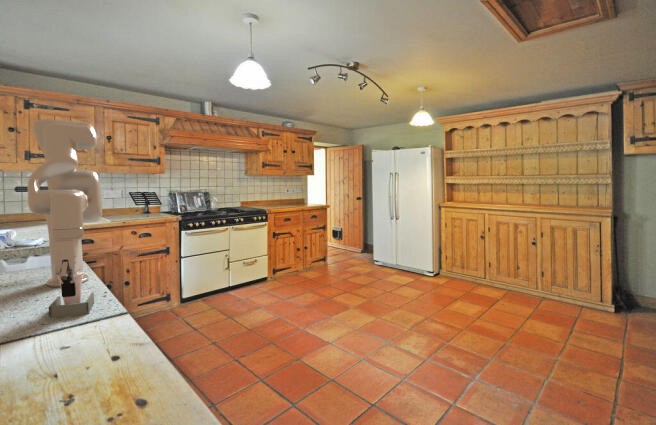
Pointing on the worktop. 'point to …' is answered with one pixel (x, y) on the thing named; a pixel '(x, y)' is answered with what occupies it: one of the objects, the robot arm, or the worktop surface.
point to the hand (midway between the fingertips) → (71, 291)
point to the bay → (70, 308)
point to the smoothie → (78, 286)
